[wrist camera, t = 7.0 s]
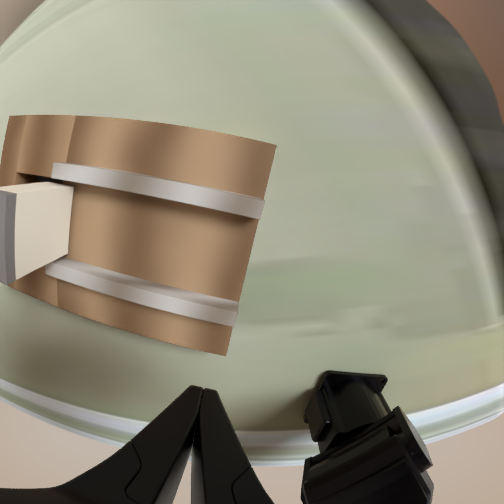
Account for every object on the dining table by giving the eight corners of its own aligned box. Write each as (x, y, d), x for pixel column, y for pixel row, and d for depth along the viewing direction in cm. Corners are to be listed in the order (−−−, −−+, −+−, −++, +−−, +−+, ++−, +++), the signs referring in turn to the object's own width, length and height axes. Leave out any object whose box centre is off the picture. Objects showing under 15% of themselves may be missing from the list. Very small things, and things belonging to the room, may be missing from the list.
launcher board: (272, 150, 19) (279, 141, 14) (228, 334, 22) (224, 368, 18) (31, 119, 18) (-3, 114, 13) (17, 271, 21) (-13, 286, 16)
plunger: (74, 186, 16) (6, 195, 10) (68, 253, 17) (7, 285, 11) (47, 181, 16) (-20, 189, 10) (42, 245, 17) (-19, 272, 11)
